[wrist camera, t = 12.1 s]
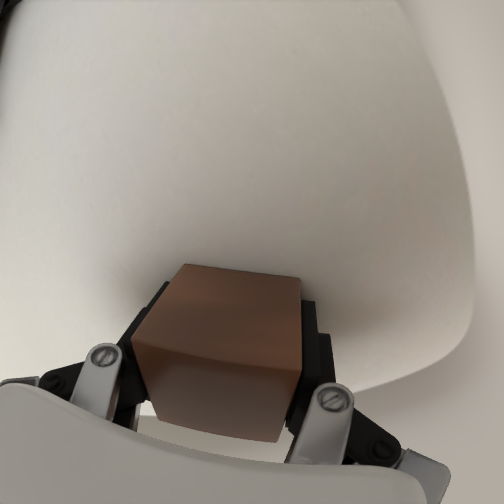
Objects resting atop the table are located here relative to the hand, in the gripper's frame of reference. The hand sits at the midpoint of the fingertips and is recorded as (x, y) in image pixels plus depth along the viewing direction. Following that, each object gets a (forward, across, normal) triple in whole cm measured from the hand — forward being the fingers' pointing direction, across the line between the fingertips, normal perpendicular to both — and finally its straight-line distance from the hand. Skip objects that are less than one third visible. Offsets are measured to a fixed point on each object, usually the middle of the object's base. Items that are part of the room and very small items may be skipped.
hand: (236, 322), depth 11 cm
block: (0, 0, 0) cm, 0 cm away
